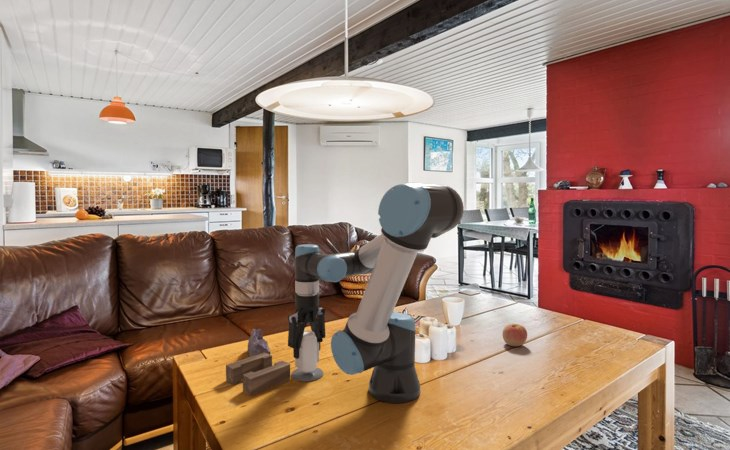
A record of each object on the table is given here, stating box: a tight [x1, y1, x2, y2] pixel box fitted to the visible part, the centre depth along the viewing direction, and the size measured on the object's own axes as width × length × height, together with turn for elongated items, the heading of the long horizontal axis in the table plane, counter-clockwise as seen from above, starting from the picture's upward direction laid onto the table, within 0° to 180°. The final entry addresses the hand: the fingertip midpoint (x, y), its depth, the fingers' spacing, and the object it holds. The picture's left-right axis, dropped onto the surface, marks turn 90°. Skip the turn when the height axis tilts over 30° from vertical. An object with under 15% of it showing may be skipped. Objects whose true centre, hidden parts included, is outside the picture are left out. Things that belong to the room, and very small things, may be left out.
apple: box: [502, 323, 528, 347], centre depth 156 cm, size 9×9×8 cm
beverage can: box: [297, 330, 318, 373], centre depth 128 cm, size 6×6×12 cm
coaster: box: [291, 367, 324, 383], centre depth 129 cm, size 10×10×1 cm
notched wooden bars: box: [225, 352, 291, 397], centre depth 125 cm, size 14×14×5 cm
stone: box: [247, 328, 271, 357], centre depth 143 cm, size 10×6×15 cm
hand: (307, 363), depth 129 cm, fingers closed on beverage can, 6 cm apart
